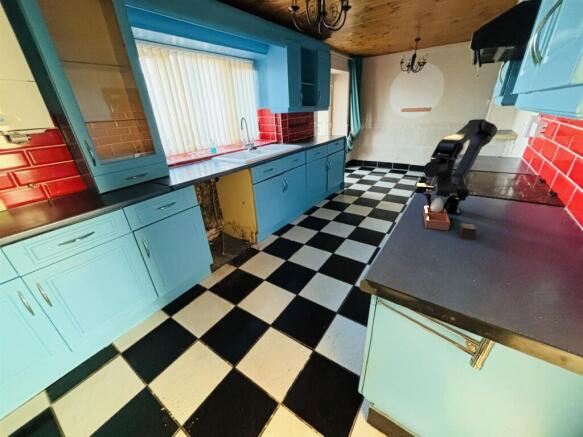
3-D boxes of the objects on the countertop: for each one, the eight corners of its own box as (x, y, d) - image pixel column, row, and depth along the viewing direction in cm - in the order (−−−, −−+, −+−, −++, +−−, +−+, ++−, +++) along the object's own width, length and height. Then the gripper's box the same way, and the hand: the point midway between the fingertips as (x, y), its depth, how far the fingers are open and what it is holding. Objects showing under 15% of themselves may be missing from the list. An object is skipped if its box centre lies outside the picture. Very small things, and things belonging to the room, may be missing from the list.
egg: (441, 210, 101) (445, 196, 98) (442, 215, 97) (446, 200, 94) (428, 209, 103) (431, 195, 100) (428, 213, 99) (432, 198, 96)
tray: (425, 227, 93) (427, 219, 92) (423, 213, 106) (424, 206, 104) (448, 230, 90) (450, 222, 89) (443, 215, 103) (445, 207, 101)
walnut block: (458, 232, 89) (460, 223, 87) (470, 234, 87) (473, 224, 86) (460, 237, 85) (462, 227, 84) (473, 239, 84) (476, 229, 82)
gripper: (418, 176, 90) (411, 213, 96) (478, 179, 82) (466, 219, 89) (417, 169, 99) (411, 204, 105) (471, 171, 91) (460, 208, 98)
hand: (435, 209), depth 99 cm, fingers closed on egg, 5 cm apart
